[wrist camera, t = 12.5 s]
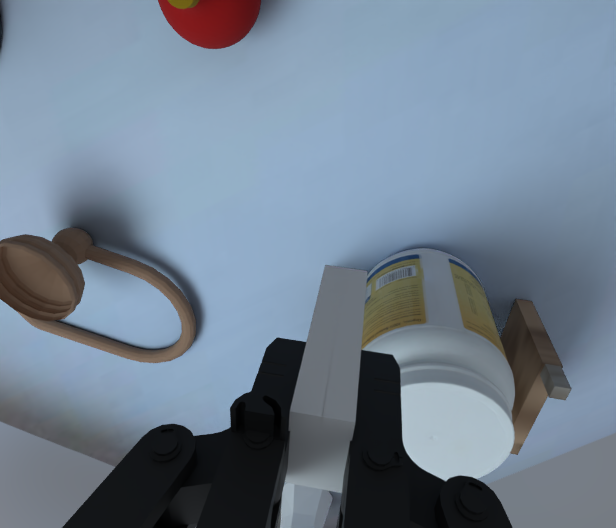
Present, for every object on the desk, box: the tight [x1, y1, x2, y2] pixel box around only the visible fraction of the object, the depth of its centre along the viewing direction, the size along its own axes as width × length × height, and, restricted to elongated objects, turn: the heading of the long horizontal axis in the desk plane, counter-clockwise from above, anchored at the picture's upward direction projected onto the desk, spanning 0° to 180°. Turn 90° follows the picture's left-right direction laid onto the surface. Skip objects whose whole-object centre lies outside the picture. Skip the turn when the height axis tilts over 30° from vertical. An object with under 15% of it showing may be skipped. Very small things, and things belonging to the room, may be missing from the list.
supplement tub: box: [361, 248, 515, 481], centre depth 37 cm, size 12×12×17 cm
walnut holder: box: [500, 299, 571, 455], centre depth 41 cm, size 11×20×11 cm, turn 85°
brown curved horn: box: [0, 228, 196, 363], centre depth 47 cm, size 24×9×19 cm
